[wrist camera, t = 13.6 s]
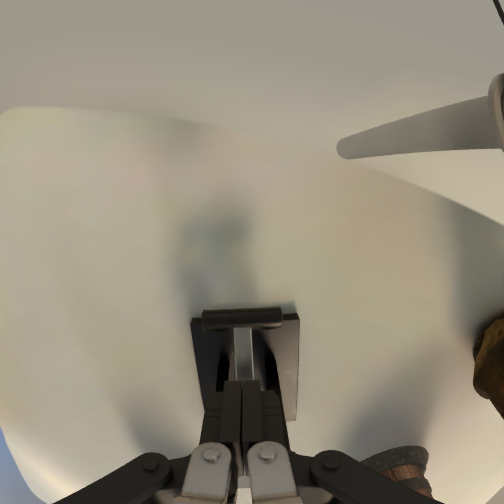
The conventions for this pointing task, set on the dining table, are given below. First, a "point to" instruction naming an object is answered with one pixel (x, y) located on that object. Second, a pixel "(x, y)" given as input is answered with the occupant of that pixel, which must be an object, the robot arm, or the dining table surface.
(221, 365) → the bracket
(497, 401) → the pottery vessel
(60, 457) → the dining table surface
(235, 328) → the lever
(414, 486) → the tankard
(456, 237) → the dining table surface
